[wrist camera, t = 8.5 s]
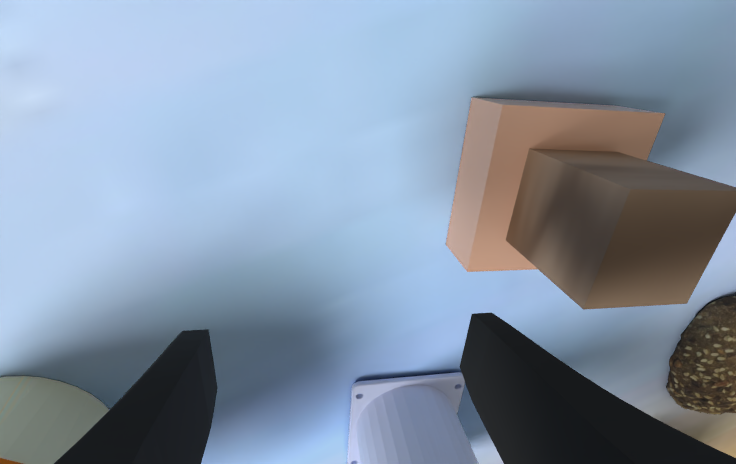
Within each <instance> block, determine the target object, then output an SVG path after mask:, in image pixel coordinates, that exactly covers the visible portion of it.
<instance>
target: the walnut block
mask: <svg viewBox="0 0 736 464" xmlns="http://www.w3.org/2000/svg"><path fill="white" fill-rule="evenodd" d="M735 213H736V187H732V186H729V185H726V184H723V183H719V182H716V181H713V180H709V179H706V178H703V177H699V176H696V175H693V174H689V173H686V172H683V171H679V170H676V169H673V168H669V167H666V166H663V165H659V164H656V163H653V162H649V161H646V160H643V159H639V158H636V157H633V156H630V155H626V154H623V153H620V152H611V151H583V150H554V149H529V151H528V155H527V159H526V162H525V166H524V170H523V174H522V178H521V182H520V186H519V190H518V194H517V197H516V201H515V205H514V209H513V213H512V217H511V221H510V225H509V229H508V232H507V236H506V241H507V242H508V243H509V244H510V245H511V246H513V247H514V248H515V249H516V250H517V251H518V252H519V253H520V254H522V255H523V256H524V257H525V258H526V259H527V260H528V261H529V262H531V263H532V264H533V265H534V266H535V267H536V268H537V269H538V270H540V271H541V272H542V273H543V274H544V275H545V276H546V277H547V278H549V279H550V280H551V281H552V282H553V283H554V284H555V285H556V286H558V287H559V288H560V289H561V290H562V291H563V292H564V293H565V294H567V295H568V296H569V297H570V298H571V299H572V300H573V301H574V302H576V303H577V304H578V305H579V306H580V307H581V308H582V309H598V308H616V307H633V306H651V305H669V304H686V303H687V302H688V300H689V298H690V296H691V295H692V293H693V291H694V289H695V287H696V285H697V283H698V282H699V280H700V278H701V276H702V274H703V272H704V270H705V269H706V267H707V265H708V263H709V261H710V259H711V257H712V255H713V254H714V252H715V250H716V248H717V246H718V244H719V242H720V241H721V239H722V237H723V235H724V233H725V231H726V229H727V228H728V226H729V224H730V222H731V220H732V218H733V216H734V215H735Z"/></svg>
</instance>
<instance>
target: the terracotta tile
mask: <svg viewBox="0 0 736 464" xmlns="http://www.w3.org/2000/svg"><path fill="white" fill-rule="evenodd" d="M664 116H665V113H659V112H653V111H647V110H640V109H634V108H628V107H621V106H615V105H599V104H581V103H564V102H547V101H529V100H512V99H494V98H477V97H472V98H471V104H470V109H469V115H468V121H467V126H466V132H465V138H464V143H463V149H462V155H461V161H460V166H459V172H458V178H457V183H456V189H455V195H454V200H453V206H452V212H451V217H450V223H449V229H448V234H447V240H446V245H447V247H448V248H449V249H450V250H451V252H452V253H453V254H454V256H455V257H456V258H457V259H458V261H459V262H460V263H461V264H462V266H463V267H464V268H465V270H466V271H467V272H475V271H502V270H529V269H537V268H536V267H535V266H534V265H533V264H532V263H531V262H529V261H528V260H527V259H526V258H525V257H524V256H523V255H522V254H520V253H519V252H518V251H517V250H516V249H515V248H514V247H513V246H511V245H510V244H509V243H508V242H507V241H506V236H507V232H508V229H509V225H510V221H511V217H512V213H513V209H514V205H515V201H516V197H517V194H518V190H519V186H520V182H521V178H522V174H523V170H524V166H525V162H526V159H527V155H528V151H529V149H554V150H583V151H611V152H620V153H623V154H626V155H630V156H633V157H636V158H639V159H643V160H646V161H647V159H648V156H649V154H650V151H651V148H652V146H653V143H654V141H655V138H656V136H657V133H658V131H659V128H660V126H661V123H662V121H663V118H664Z"/></svg>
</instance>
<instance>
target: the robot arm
mask: <svg viewBox="0 0 736 464" xmlns="http://www.w3.org/2000/svg"><path fill="white" fill-rule="evenodd" d="M460 369H461V372H462V373H460V372H457V373H446V374H434V375H423V376H412V377H401V378H390V379H379V380H368V381H358V382H356V383H354V384H353V385H352V392H351V407H350V423H349V438H348V453H347V464H479V463H478V461H477V459H476V457H475V454H474V452H473V450H472V448H471V445H470V443H469V441H468V438H467V436H466V434H465V432H464V429H463V427H462V425H461V423H460V420H459V418H458V416H457V413H458V409H459V405H460V401H461V397H462V393H463V389H464V385H465V383H466V386H467V389H468V391H469V394H470V397H471V399H472V402H473V404H474V406H475V408H476V410H477V412H478V414H479V416H480V418H481V420H482V422H483V424H484V426H485V428H486V429H487V431H488V433H489V435H490V437H491V439H492V441H493V443H494V445H495V447H496V449H497V451H498V453H499V455H500V457H501V459H502V461H503V463H504V464H736V458H734V457H732V456H730V455H728V454H725V453H723V452H721V451H719V450H717V449H715V448H712V447H710V446H708V445H706V444H704V443H702V442H700V441H698V440H696V439H694V438H692V437H690V436H688V435H686V434H684V433H682V432H680V431H678V430H676V429H674V428H672V427H670V426H668V425H666V424H664V423H663V422H661V421H659V420H657V419H655V418H653V417H651V416H650V415H648V414H646V413H644V412H642V411H641V410H639V409H637V408H635V407H634V406H632V405H630V404H628V403H626V402H625V401H623V400H621V399H619V398H618V397H616V396H614V395H613V394H611V393H609V392H608V391H606V390H605V389H603V388H601V387H600V386H598V385H597V384H595V383H594V382H592V381H590V380H589V379H587V378H586V377H584V376H583V375H581V374H579V373H578V372H576V371H575V370H573V369H572V368H570V367H569V366H567V365H566V364H564V363H563V362H562V361H560V360H559V359H557V358H556V357H554V356H553V355H551V354H550V353H549V352H547V351H546V350H544V349H543V348H541V347H540V346H539V345H537V344H536V343H534V342H533V341H532V340H530V339H529V338H527V337H526V336H525V335H523V334H522V333H520V332H519V331H518V330H516V329H515V328H513V327H512V326H511V325H509V324H508V323H506V322H505V321H503V320H502V319H500V318H499V317H497V316H496V315H494V314H493V313H478V314H472V316H471V320H470V325H469V329H468V333H467V338H466V342H465V346H464V351H463V355H462V359H461V364H460ZM216 393H217V382H216V376H215V369H214V363H213V356H212V350H211V343H210V336H209V330H191V331H182V332H181V333H180V334H179V335H178V336H177V337H176V338H175V340H174V341H173V342H172V343H171V344H170V345H169V346H168V347H167V349H166V350H165V351H164V352H163V353H162V354H161V355H160V357H159V358H158V359H157V360H156V361H155V362H154V363H153V364H152V365H151V367H150V368H149V369H148V370H147V371H146V372H145V373H144V374H143V375H142V377H141V378H140V379H139V380H138V381H137V382H136V383H135V384H134V385H133V386H132V387H131V388H130V389H129V390H128V391H127V392H126V394H125V395H124V396H123V397H122V398H121V399H120V400H119V401H118V402H117V403H116V404H115V405H114V406H113V407H112V408H111V409H110V410H109V411H108V412H107V413H106V414H105V415H104V416H103V417H102V418H101V419H100V420H99V421H98V422H97V423H96V424H95V425H94V426H93V427H92V428H91V429H90V430H89V431H88V432H87V433H86V434H85V435H84V436H83V437H82V438H81V439H80V440H79V441H78V442H76V443H75V444H74V445H73V446H72V447H71V448H70V449H69V450H68V451H67V452H66V453H65V454H64V455H62V456H61V457H60V458H59V459H58V460H57V461H56V462H55V463H54V464H201V461H202V458H203V454H204V450H205V447H206V443H207V440H208V436H209V432H210V429H211V423H212V418H213V412H214V406H215V399H216Z"/></svg>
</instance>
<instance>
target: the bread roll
mask: <svg viewBox="0 0 736 464" xmlns="http://www.w3.org/2000/svg"><path fill="white" fill-rule="evenodd" d="M669 366H670V372H669V377H668V383H667V386H666V388H667V390H668V392H669V394H670V396H672V397H673V399H674V400H675V402H676V403H677V404H678V405H680V406H681V407H683V408H684V409H690V410H694V411H698V412H700V413H701V412H705V413H707V414H722V413H725V412H729V413H736V296H727V297H723V298H720V299H717V300H715V301H713V302H711V303H710V304H708V305H706V306H705V307H704V309H702V310H701V311H700V312H699V314H698V315H697V316H696V317H695V318H694V320H693V321H692V322H691V323H690V324H689V325H688V327H687V328H686V330H685V331H684V332H683V333H682V334H681V340H680V341H679V343H678V344H677V347H676V349H675V351H674V353H673V355H672V356H671V358H670V361H669Z"/></svg>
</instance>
